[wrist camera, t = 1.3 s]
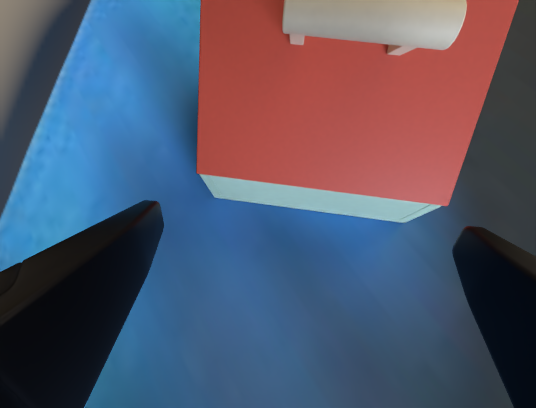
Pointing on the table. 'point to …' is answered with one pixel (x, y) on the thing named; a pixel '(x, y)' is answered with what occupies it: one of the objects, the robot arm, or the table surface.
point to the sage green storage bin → (316, 199)
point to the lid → (346, 91)
